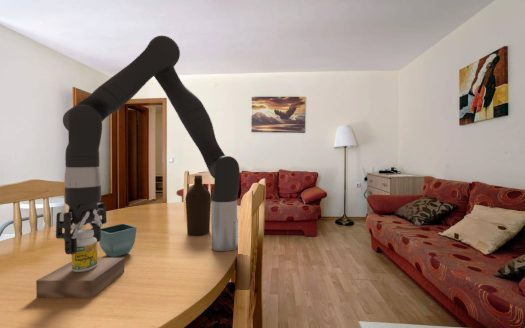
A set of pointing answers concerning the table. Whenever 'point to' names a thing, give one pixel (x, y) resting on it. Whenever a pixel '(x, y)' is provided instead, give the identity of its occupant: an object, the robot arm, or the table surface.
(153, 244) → the table surface
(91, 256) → the supplement bottle
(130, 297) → the table surface
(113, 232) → the flower pot
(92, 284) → the walnut plinth
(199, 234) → the olive oil
